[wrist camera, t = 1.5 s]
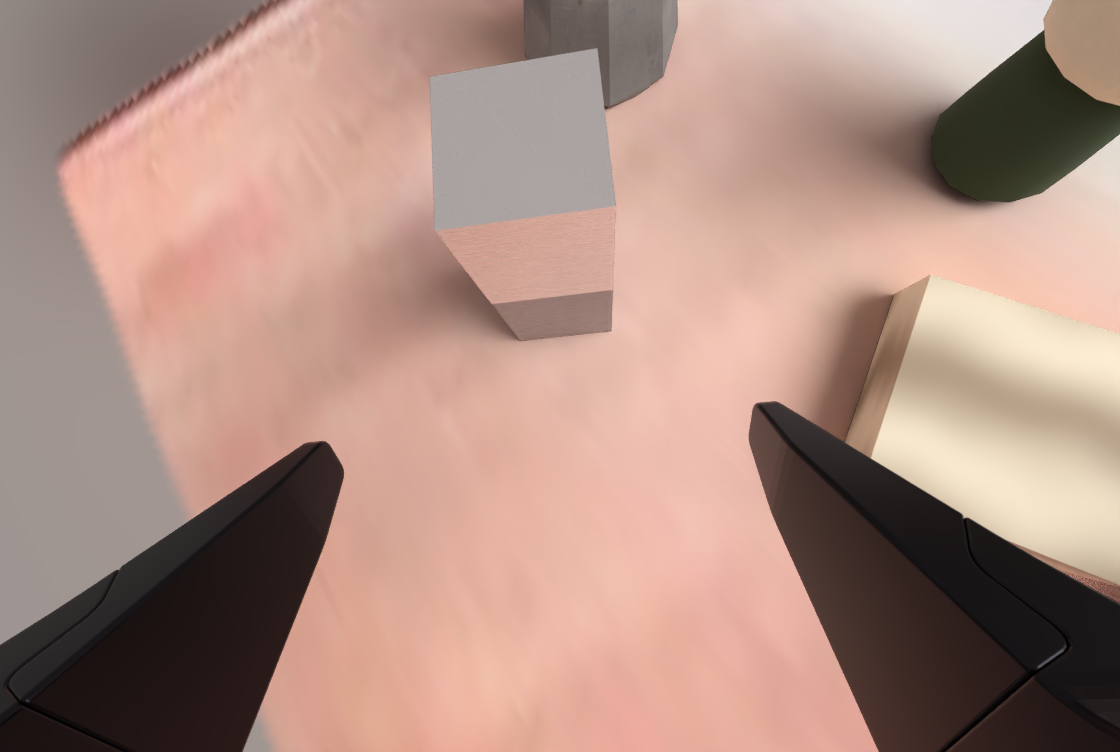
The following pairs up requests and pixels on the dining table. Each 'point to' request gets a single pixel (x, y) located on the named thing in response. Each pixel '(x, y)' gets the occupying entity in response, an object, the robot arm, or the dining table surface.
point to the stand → (1001, 419)
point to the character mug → (1037, 108)
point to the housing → (528, 190)
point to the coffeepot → (606, 38)
